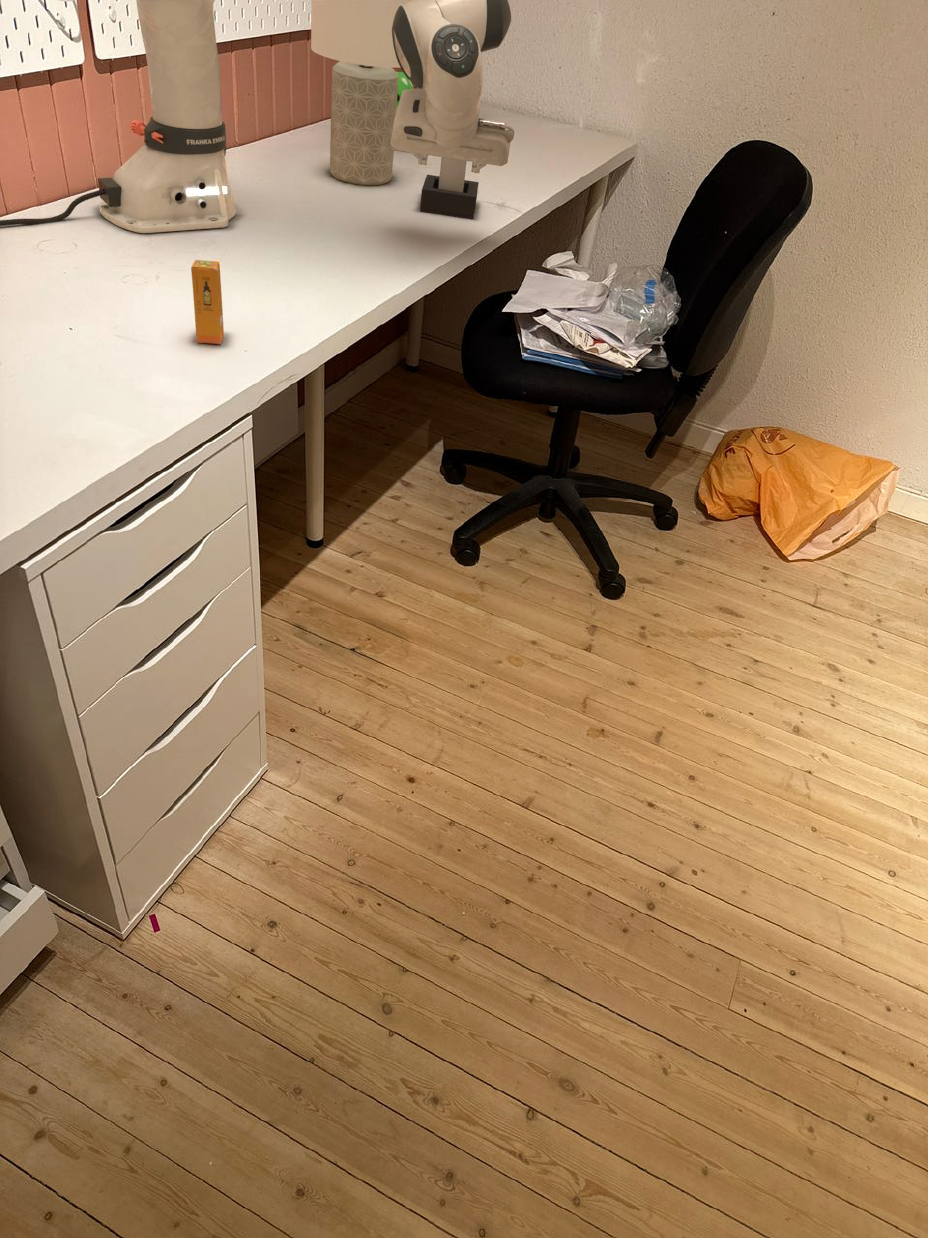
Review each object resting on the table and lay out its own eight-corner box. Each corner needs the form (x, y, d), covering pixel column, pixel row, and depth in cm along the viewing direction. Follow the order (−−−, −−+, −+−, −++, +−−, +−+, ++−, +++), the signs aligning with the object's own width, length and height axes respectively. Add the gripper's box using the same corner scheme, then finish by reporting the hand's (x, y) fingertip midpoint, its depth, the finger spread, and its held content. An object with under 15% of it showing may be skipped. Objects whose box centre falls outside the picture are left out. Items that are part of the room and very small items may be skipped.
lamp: (400, 198, 179) (419, -66, 152) (296, 180, 180) (297, -86, 153) (420, 171, 195) (440, -72, 168) (325, 155, 196) (330, -90, 169)
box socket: (473, 218, 175) (475, 196, 172) (419, 211, 175) (421, 188, 172) (476, 203, 183) (478, 181, 180) (425, 195, 182) (426, 174, 180)
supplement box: (225, 334, 124) (221, 260, 118) (221, 345, 122) (217, 269, 115) (200, 332, 124) (195, 257, 118) (195, 343, 121) (190, 267, 115)
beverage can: (458, 210, 176) (466, 141, 169) (434, 205, 177) (441, 137, 169) (463, 203, 180) (471, 136, 172) (439, 198, 180) (446, 131, 173)
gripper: (517, 107, 150) (509, 156, 163) (392, 87, 149) (395, 139, 163) (513, 143, 149) (505, 190, 163) (387, 124, 148) (390, 173, 162)
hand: (449, 164), depth 163 cm, fingers open, 8 cm apart
